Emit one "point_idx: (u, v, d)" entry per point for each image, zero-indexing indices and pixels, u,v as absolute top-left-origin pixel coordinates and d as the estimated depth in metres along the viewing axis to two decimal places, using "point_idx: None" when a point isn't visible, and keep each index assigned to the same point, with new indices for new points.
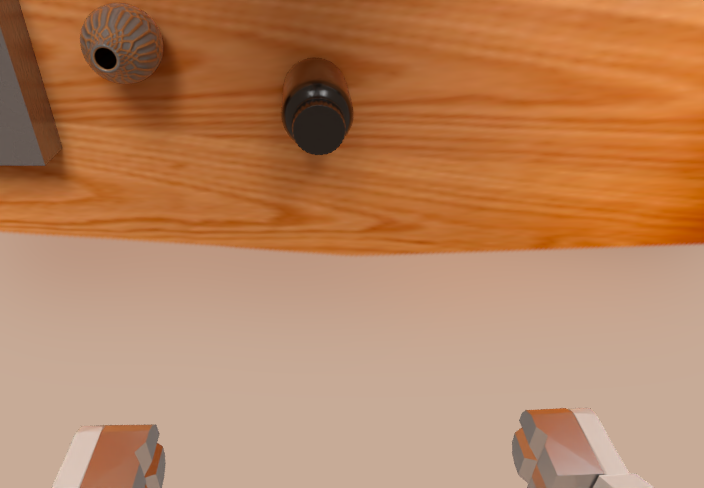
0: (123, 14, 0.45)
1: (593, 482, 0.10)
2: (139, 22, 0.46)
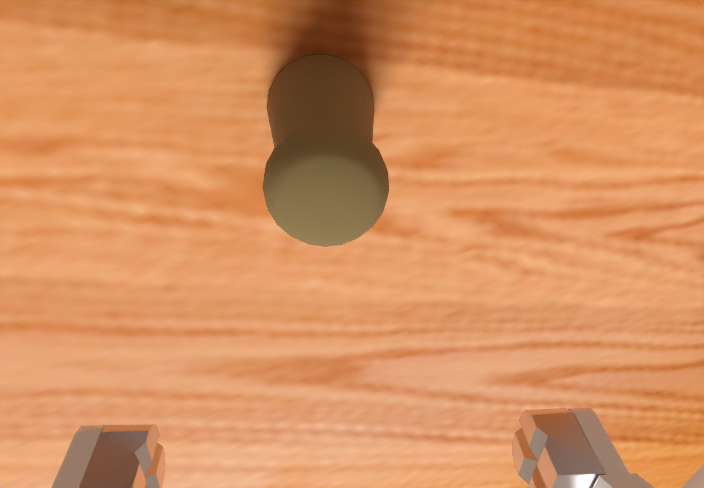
0: None
1: (593, 482, 0.10)
2: None
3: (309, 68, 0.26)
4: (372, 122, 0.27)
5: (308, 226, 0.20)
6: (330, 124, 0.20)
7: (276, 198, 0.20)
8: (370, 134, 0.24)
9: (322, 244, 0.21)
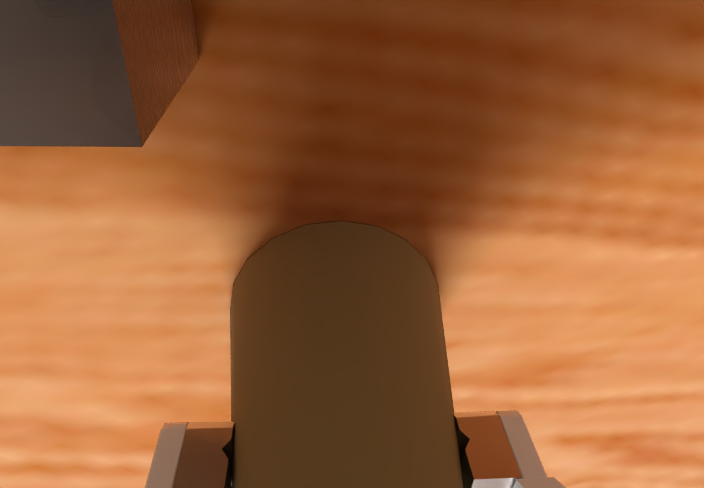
0: None
1: (511, 486, 0.10)
2: None
3: (314, 270, 0.12)
4: None
5: None
6: None
7: None
8: (459, 459, 0.10)
9: None
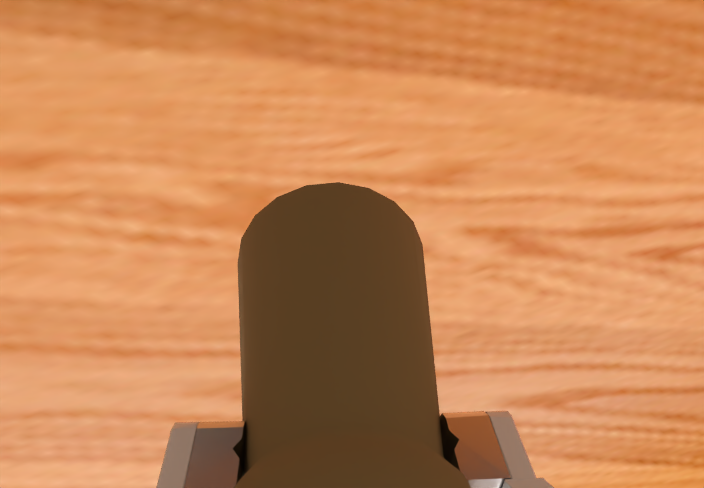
0: None
1: (500, 486, 0.10)
2: None
3: (314, 220, 0.14)
4: None
5: None
6: (370, 474, 0.08)
7: None
8: (434, 374, 0.12)
9: None
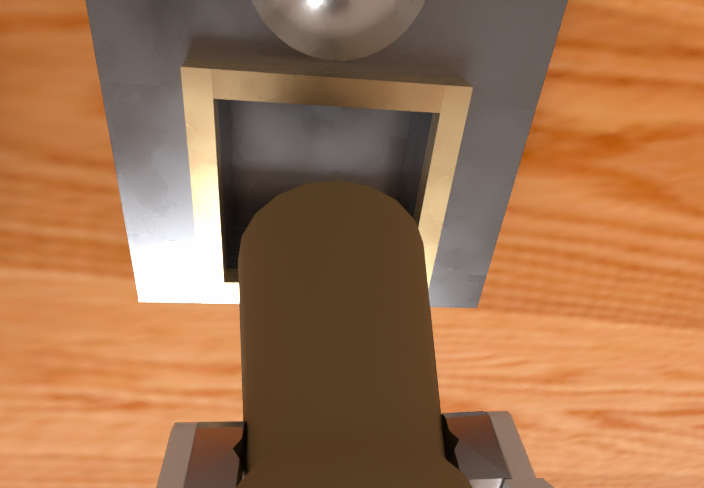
0: None
1: (500, 487, 0.10)
2: None
3: (315, 218, 0.14)
4: None
5: None
6: (371, 477, 0.08)
7: None
8: (436, 374, 0.12)
9: None
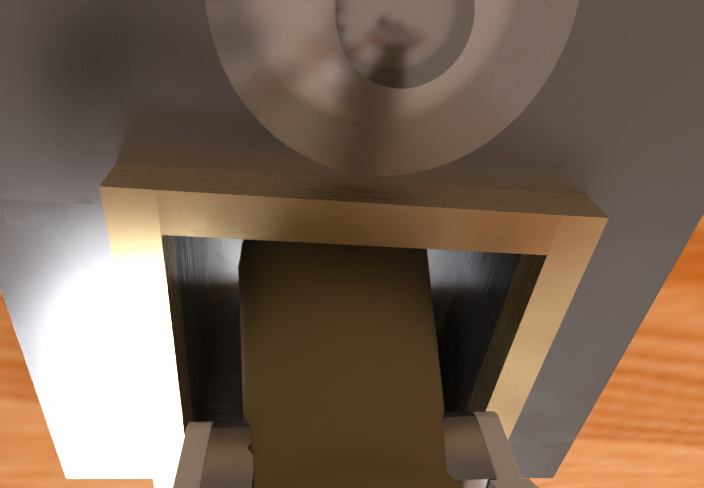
0: None
1: (486, 487, 0.10)
2: None
3: None
4: None
5: None
6: None
7: None
8: (441, 386, 0.12)
9: None
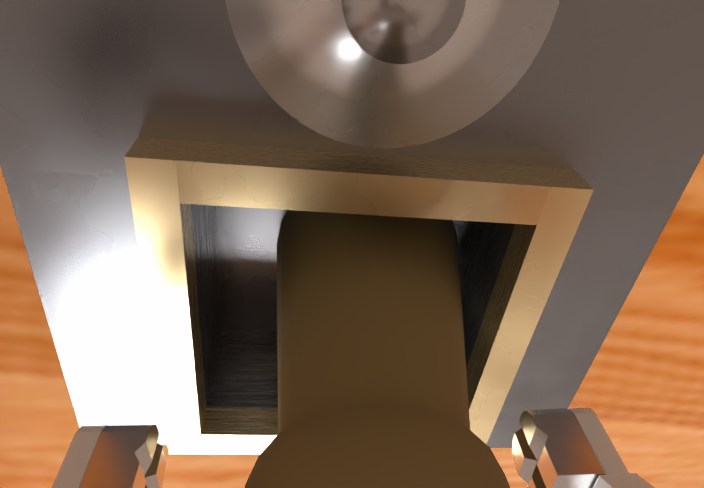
0: None
1: (593, 482, 0.10)
2: None
3: None
4: None
5: None
6: (399, 435, 0.08)
7: None
8: (464, 357, 0.12)
9: None
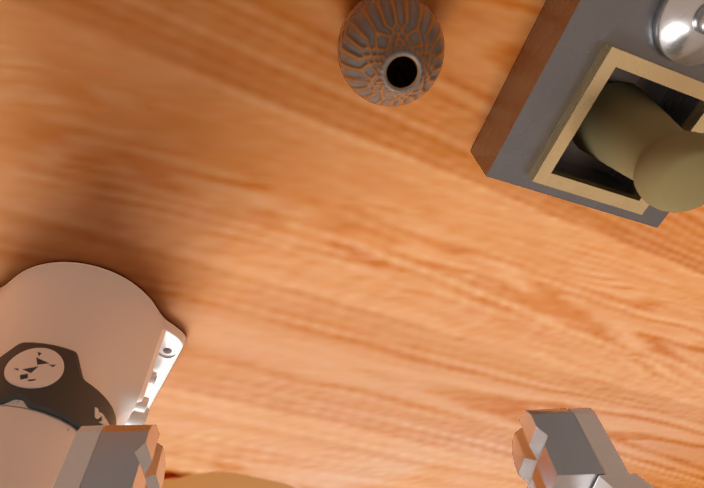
0: (361, 95, 0.33)
1: (593, 482, 0.10)
2: (347, 78, 0.33)
3: (634, 91, 0.37)
4: None
5: (675, 194, 0.32)
6: None
7: (668, 171, 0.31)
8: None
9: (670, 208, 0.33)
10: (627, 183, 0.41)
